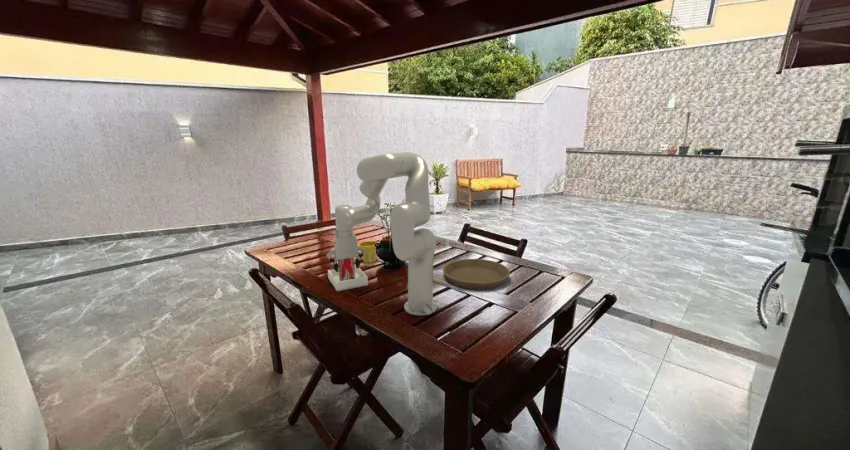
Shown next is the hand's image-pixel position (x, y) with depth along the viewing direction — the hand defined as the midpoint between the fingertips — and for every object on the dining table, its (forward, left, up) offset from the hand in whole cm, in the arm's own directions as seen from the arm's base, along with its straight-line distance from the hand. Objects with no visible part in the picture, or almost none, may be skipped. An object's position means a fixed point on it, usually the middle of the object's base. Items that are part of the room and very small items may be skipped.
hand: (347, 269), depth 159 cm
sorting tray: (0, 0, -6) cm, 6 cm away
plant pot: (+22, -18, -6) cm, 29 cm away
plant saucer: (-23, -55, -6) cm, 60 cm away
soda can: (0, 0, -5) cm, 5 cm away
